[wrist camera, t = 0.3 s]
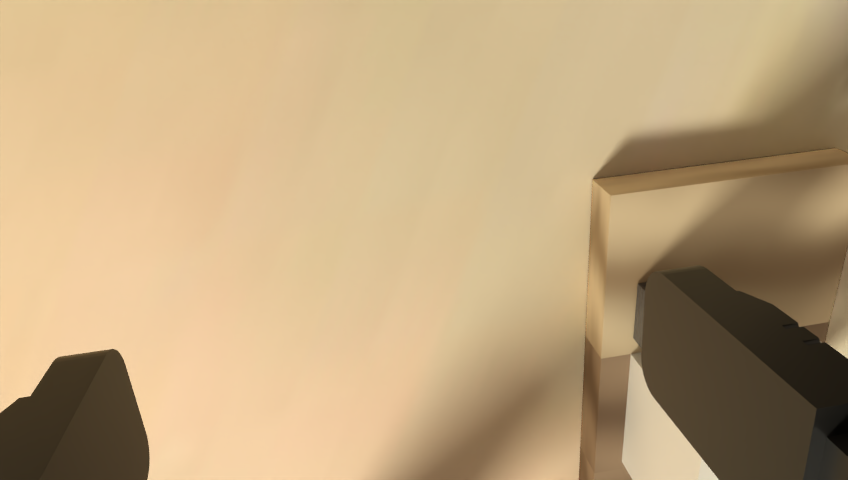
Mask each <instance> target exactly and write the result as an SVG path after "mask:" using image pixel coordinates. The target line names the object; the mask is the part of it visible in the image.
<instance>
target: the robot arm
mask: <svg viewBox="0 0 848 480" xmlns="http://www.w3.org/2000/svg"><path fill="white" fill-rule="evenodd" d="M641 363H642V370H643V375H644V378H645V382H646V384H647V387H648V389H649V391H650V393H651V395H652V396H653V397H654V399H655V400H656V401H657V403H658V404H659V405H660V406H661V408H662V409H663V410H664V411H665V413H666V414H667V415H668V416H669V418H670V419H671V420H672V421H673V423H674V424H675V425H676V426H677V428H678V429H679V430H680V431H681V433H682V434H683V435H684V437H685V438H686V439H687V440H688V442H689V443H690V444H691V445H692V447H693V448H694V449H695V450H696V452H697V453H698V454H699V455H700V457H701V458H702V459H703V460H704V462H705V463H706V464H707V465H708V467H709V468H710V469H711V470H712V472H713V473H714V474H715V475H716V477H717V478H718V479H719V480H848V359H847V358H846V357H844V356H843V355H842V354H840V353H839V352H838V351H836V350H835V349H833V348H832V347H831V346H829V345H828V344H827V343H825V342H824V343H821V342H820V340H819V338H818V337H817V336H816V335H814V334H813V333H812V332H810V331H809V330H807V329H806V328H805V327H799V325H798V322H796V321H795V320H794V319H792V318H791V317H790V316H788V315H787V314H785V313H784V312H783V311H781V310H780V309H779V308H777V307H776V306H775V305H773V304H771V303H768V302H766V301H763V300H761V299H758V298H756V297H754V296H751V295H749V294H746V293H744V292H741V291H736V290H734V289H733V288H732V287H730V286H729V285H728V284H727V283H725V282H724V281H723V280H721V279H720V278H719V277H717V276H716V275H715V274H713V273H712V272H711V271H709V270H708V269H707V268H705V267H704V266H701V265H697V266H690V267H683V268H676V269H669V270H662V271H656V272H652V273H651V274H650V275H649V277H648V279H647V283H646V289H645V304H644V320H643V336H642V352H641ZM148 472H149V445H148V439H147V435H146V431H145V428H144V425H143V422H142V418H141V415H140V412H139V408H138V405H137V402H136V399H135V395H134V392H133V389H132V385H131V382H130V379H129V376H128V372H127V369H126V366H125V363H124V360H123V358H122V356H121V355H120V353H119V352H118V351H117V350H115V349H110V350H103V351H96V352H90V353H83V354H76V355H69V356H62V357H58V358H57V359H55V360H54V361H53V363H52V364H51V366H50V367H49V369H48V370H47V372H46V373H45V375H44V376H43V378H42V379H41V381H40V383H39V384H38V386H37V387H36V389H35V390H34V392H33V393H32V395H31V396H30V397H23V398H19V399H17V400H16V401H15V402H14V403H12V404H11V405H10V406H9V407H7V408H6V409H5V410H4V411H2V412H1V413H0V480H147V478H148Z"/></svg>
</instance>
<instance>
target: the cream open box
mask: <svg viewBox="0 0 848 480" xmlns="http://www.w3.org/2000/svg"><path fill="white" fill-rule="evenodd" d="M820 342H821V341H820ZM821 343H822V342H821ZM622 463H623V464H624V466H625V468H626V470H627V471H628V473H629V475H630V476H631V478H632V480H719V479H718V478H717V477H716V475H715V474H714V473H713V472H712V470H711V469H710V468H709V467H708V465H707V464H706V463H705V462H704V460H703V459H702V458H701V457H700V455H699V454H698V453H697V452H696V450H695V449H694V448H693V447H692V445H691V444H690V443H689V442H688V440H687V439H686V438H685V437H684V435H683V434H682V433H681V431H680V430H679V429H678V428H677V426H676V425H675V424H674V423H673V421H672V420H671V419H670V418H669V416H668V415H667V414H666V413H665V411H664V410H663V409H662V408H661V406H660V405H659V404H658V403H657V401H656V400H655V399H654V397H653V396H652V395H651V393H650V391H649V389H648V387H647V384H646V382H645V378H644V375H643V370H642V363H641V352H640V353H634V354H631V357H630V369H629V381H628V393H627V405H626V417H625V429H624V441H623V453H622Z"/></svg>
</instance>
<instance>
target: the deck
mask: <svg viewBox="0 0 848 480" xmlns="http://www.w3.org/2000/svg"><path fill="white" fill-rule="evenodd" d="M847 247H848V153H847V152H844V151H842V150H839V149H837V148H832V149H824V150H817V151H809V152H801V153H793V154H786V155H778V156H770V157H762V158H755V159H747V160H739V161H731V162H723V163H716V164H708V165H700V166H692V167H685V168H677V169H669V170H661V171H654V172H646V173H638V174H630V175H623V176H615V177H607V178H599V179H593V181H592V203H591V225H590V248H589V270H588V292H587V314H586V336H585V358H584V380H583V402H582V425H581V447H580V469H579V480H632V478H631V476H630V475H629V473H628V471H627V470H626V468H625V466H624V464H623V463H622V453H623V441H624V429H625V417H626V405H627V393H628V381H629V369H630V357H631V354H634V353H640V352H642V349H641V347H640V346H639V345H638V344H637V342H636V341H635V340H634V339H633V334H634V322H635V310H636V298H637V286H638V283H645V282H647V279H648V277H649V275H650V274H651V273H652V272H656V271H662V270H669V269H676V268H683V267H690V266H697V265H701V266H704V267H705V268H707V269H708V270H709V271H711V272H712V273H713V274H715V275H716V276H717V277H719V278H720V279H721V280H723V281H724V282H725V283H727V284H728V285H729V286H730V287H732V288H733V289H734V290H736V291H741V292H744V293H746V294H749V295H751V296H754V297H756V298H758V299H761V300H763V301H766V302H768V303H771V304H773V305H775V306H776V307H777V308H779V309H780V310H781V311H783V312H784V313H785V314H787V315H788V316H790V317H791V318H792V319H794V320H795V321H796V322H798V325H799V327H805V328H806V329H807V330H809V331H810V332H812V333H813V334H814V335H816V336H817V337H818V338H819V340H820V341H821V342H822V343H824V342H825V339H826V335H827V330H828V326H829V322H830V318H831V314H832V310H833V306H834V301H835V297H836V293H837V289H838V285H839V281H840V276H841V272H842V268H843V264H844V260H845V256H846V252H847Z"/></svg>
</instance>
